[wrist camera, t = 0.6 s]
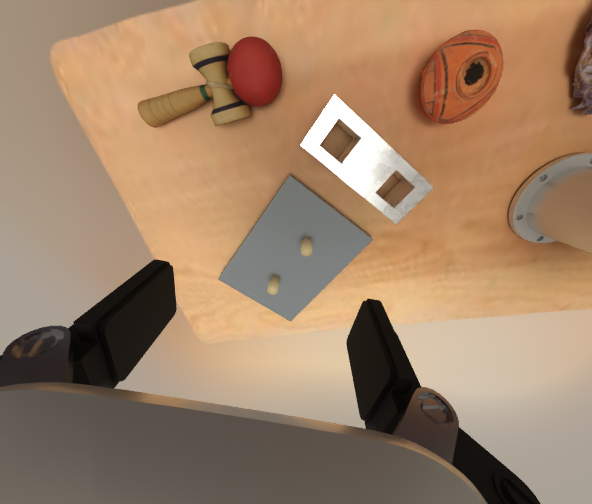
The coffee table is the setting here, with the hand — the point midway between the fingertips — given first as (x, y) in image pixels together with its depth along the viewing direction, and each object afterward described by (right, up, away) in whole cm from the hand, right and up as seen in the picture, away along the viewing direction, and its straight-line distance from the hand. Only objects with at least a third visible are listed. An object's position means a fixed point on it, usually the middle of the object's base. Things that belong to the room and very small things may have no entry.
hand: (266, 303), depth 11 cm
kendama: (-9, +23, +17) cm, 30 cm away
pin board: (+1, +2, +27) cm, 27 cm away
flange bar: (+10, +15, +20) cm, 27 cm away
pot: (+19, +23, +16) cm, 33 cm away
